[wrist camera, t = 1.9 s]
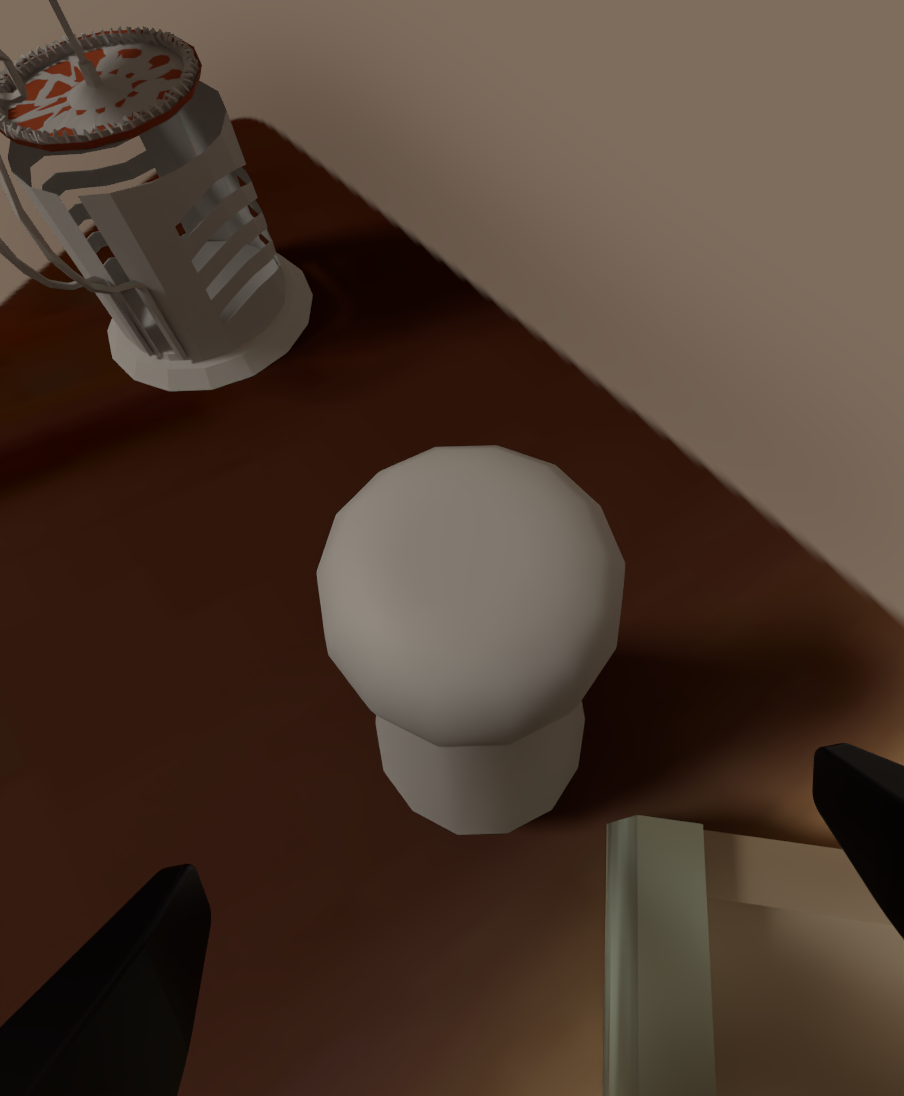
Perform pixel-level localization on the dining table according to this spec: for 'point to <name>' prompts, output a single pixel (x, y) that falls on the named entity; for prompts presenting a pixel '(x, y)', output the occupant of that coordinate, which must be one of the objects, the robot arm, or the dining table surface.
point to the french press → (151, 207)
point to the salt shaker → (473, 627)
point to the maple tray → (745, 968)
